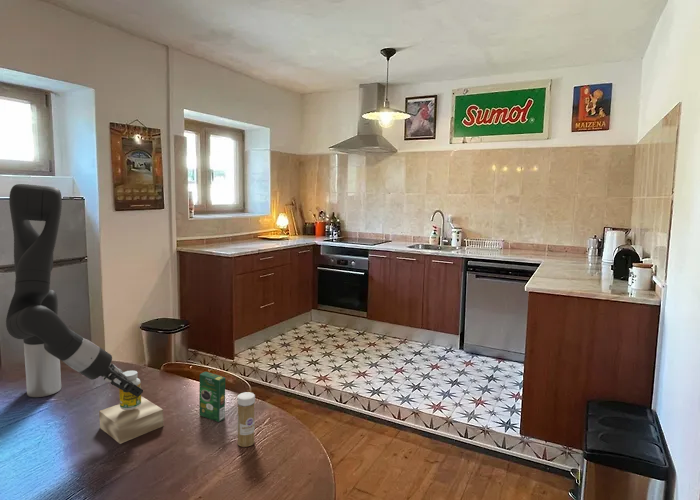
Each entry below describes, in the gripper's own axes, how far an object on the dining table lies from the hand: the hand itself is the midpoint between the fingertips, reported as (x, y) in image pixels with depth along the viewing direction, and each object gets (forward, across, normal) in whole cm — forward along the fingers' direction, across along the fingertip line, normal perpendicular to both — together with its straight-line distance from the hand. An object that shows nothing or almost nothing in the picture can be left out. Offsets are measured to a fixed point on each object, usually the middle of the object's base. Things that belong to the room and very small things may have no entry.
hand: (137, 389), depth 126 cm
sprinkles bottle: (+21, -27, -6) cm, 35 cm away
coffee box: (+20, -9, -5) cm, 23 cm away
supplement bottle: (+2, 0, +4) cm, 5 cm away
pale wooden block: (+6, 0, +9) cm, 11 cm away
